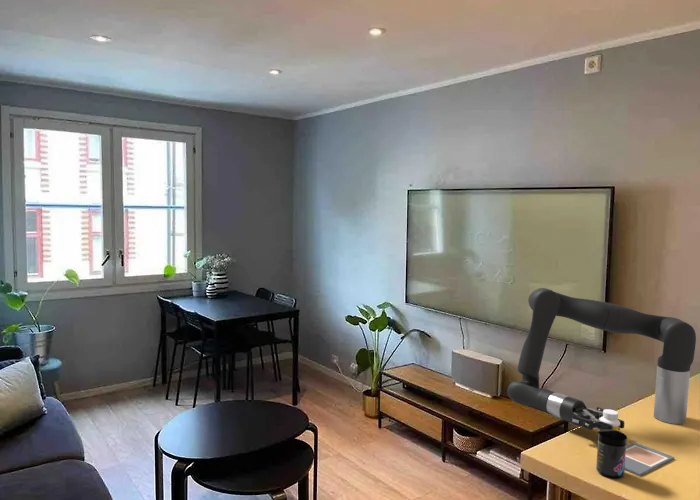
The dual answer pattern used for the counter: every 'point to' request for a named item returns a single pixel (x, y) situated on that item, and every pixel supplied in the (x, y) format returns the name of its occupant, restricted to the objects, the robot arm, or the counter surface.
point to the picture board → (643, 458)
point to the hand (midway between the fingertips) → (617, 427)
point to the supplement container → (611, 453)
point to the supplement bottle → (611, 419)
